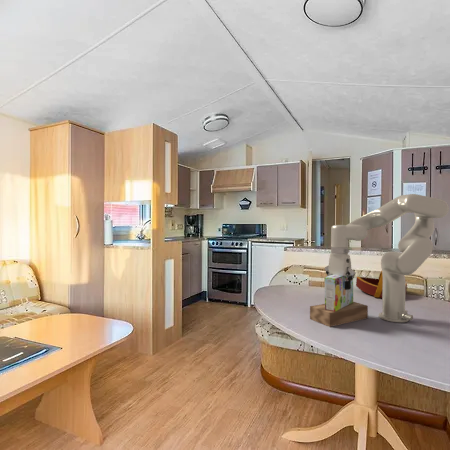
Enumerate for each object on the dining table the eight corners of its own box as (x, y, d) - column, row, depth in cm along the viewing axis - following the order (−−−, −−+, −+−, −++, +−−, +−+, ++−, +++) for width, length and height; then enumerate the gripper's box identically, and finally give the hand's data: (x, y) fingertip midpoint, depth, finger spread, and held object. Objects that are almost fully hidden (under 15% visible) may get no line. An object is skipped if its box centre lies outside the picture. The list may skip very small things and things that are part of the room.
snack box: (342, 300, 156) (342, 270, 155) (353, 302, 152) (354, 272, 152) (323, 309, 140) (324, 276, 140) (335, 312, 136) (336, 278, 136)
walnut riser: (367, 318, 147) (367, 305, 147) (329, 326, 135) (329, 313, 135) (346, 311, 157) (347, 299, 157) (310, 319, 146) (310, 306, 145)
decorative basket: (404, 306, 176) (409, 280, 174) (350, 292, 190) (354, 268, 189) (405, 295, 204) (409, 273, 203) (358, 283, 219) (362, 263, 218)
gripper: (360, 252, 140) (360, 290, 140) (330, 249, 155) (330, 283, 155) (349, 253, 136) (348, 292, 137) (319, 250, 151) (319, 284, 152)
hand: (339, 287), depth 146 cm, fingers open, 9 cm apart
